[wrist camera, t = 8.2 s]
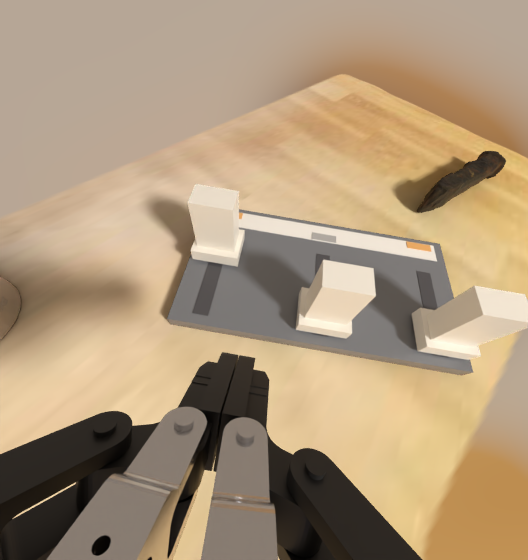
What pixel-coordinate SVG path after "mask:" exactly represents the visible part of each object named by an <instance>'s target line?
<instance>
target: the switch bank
mask: <svg viewBox="0 0 528 560" xmlns="http://www.w3.org/2000/svg"><path fill="white" fill-rule="evenodd" d="M239 229H240V230H245V236H244V243H243V247H242V251H241V255H240V259H239V263H238V267H237V266H231V265H225V264H219V263H214V262H208V261H202V260H196V259H193V258H192V254H191V256H190V258H189V261H188V264H187V267H186V269H185V272H184V275H183V277H182V280H181V283H180V285H179V288H178V291H177V293H176V296H175V299H174V301H173V304H172V307H171V309H170V312H169V315H168V317H167V319H168V321H169V323H170V324H172V325H178V326H183V327H189V328H195V329H201V330H206V331H212V332H218V333H223V334H229V335H235V336H240V337H246V338H252V339H258V340H263V341H269V342H275V343H280V344H286V345H292V346H297V347H303V348H309V349H315V350H320V351H326V352H332V353H337V354H343V355H349V356H354V357H360V358H366V359H371V360H377V361H383V362H389V363H394V364H400V365H406V366H411V367H417V368H423V369H428V370H434V371H440V372H446V373H451V374H457V375H465V374H469V373H473V370H472V366H471V362H470V360H465V359H460V358H454V357H448V356H442V355H437V354H431V353H425V352H420V351H417V345H416V339H415V332H414V326H413V320H412V313H413V312H415V311H416V310H417V309H419V308H425V309H431V310H436V309H437V308H439V307H441V306H442V305H444V304H446V303H447V302H449V301H450V300H452V299H454V297H453V293H452V289H451V285H450V282H449V278H448V274H447V270H446V266H445V262H444V259H443V255H442V251H441V247H440V244H437V243H431V242H425V241H420V240H414V239H408V238H402V237H396V236H391V235H385V234H379V233H373V232H367V231H361V230H356V229H350V228H344V227H338V226H332V225H327V224H321V223H315V222H309V221H303V220H298V219H292V218H286V217H280V216H274V215H268V214H263V213H257V212H251V211H245V210H239ZM323 260H329V261H335V262H340V263H346V264H352V265H358V266H363V267H369V268H374V280H375V292H376V296H375V297H374V298H373V299H372V300H371V301H370V302H369V303H368V304H367V305H366V306H365V307H364V308H363V309H362V310H361V311H360V312H359V313H358V314H357V315H356V316H355V317H354V318H353V319H352V334H351V335H350V336H349V337H348V338H346V339H345V338H340V337H334V336H328V335H323V334H317V333H311V332H305V331H300V330H296V320H297V309H298V298H299V293H300V290H301V288H302V287H304V288H310V286H311V284H312V282H313V280H314V278H315V276H316V274H317V272H318V269H319V267H320V265H321V263H322V261H323Z"/></svg>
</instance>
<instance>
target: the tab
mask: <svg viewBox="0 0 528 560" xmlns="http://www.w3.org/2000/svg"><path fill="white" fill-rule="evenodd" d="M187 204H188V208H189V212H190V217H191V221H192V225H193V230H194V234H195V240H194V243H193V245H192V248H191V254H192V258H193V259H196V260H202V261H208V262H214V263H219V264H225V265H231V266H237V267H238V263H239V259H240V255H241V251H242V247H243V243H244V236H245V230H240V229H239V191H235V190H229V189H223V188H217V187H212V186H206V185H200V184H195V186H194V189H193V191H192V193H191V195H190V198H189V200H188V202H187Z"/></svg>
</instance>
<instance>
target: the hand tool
mask: <svg viewBox="0 0 528 560" xmlns="http://www.w3.org/2000/svg"><path fill="white" fill-rule="evenodd" d="M505 162H506V160H505V158H503V157H502V155H500V154H499V152H495V151H485V152H483V153H482V154H480V155H479V157H478V159H477V160H475V161H472V162H468V163H466V164H465V165H464V167H463V168H462V169H460V170H459V171H457V172H456V173H454V174H453V173H450V174H448V175H446V176H445V177H444V178H442V179H441V180H440V181H439V182H437V184H436V185H435V186H434V187H433V188H432V189H431V191H430V192H429V193H428V194H427V195H426V196H425V199H424V201H423V202H422V204H421V205H420V207H419V208H418V210H417V212H421V213H422V212H426V211H431V210H434V209H435V208H438V207H441V206H443V205H444V204H445V203H446V202H447V201H449V200H450V199H452V198H453V197H455V196H457V195H459V194H460V193H462V192H464V191H466V190H467V189H468V188H470V187H472V186H474V185H476V184H478V183H479V182H480V181H482V180H483V179H485V178H487V179H488V178H491V177H494V176H496V174H497V173H499V172H500V171H501V170H502V168H503V167H504V165H505Z"/></svg>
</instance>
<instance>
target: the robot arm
mask: <svg viewBox="0 0 528 560" xmlns="http://www.w3.org/2000/svg"><path fill="white" fill-rule="evenodd" d="M20 306H21V298H20V294H19V292H18V290H17V289H16V287H15V286H14V285H12V284H11V283H10V282H8V281H7V280H5V279H4V278H2V277H1V276H0V339H2V338H3V337H4V336H5V335H6V333H7V332H8V331H9V330H10V328H11V327H12V326H13V324H14V322H15V321H16V319H17V317H18V314H19V311H20ZM254 362H255V358H252V357H246V356H241V355H239V358H238V355H235V354H229V353H224V352H222V354H221V356H220V358H219V361H218V363H214V362H206V363H205V364H204V365H202V366H201V367H200V368H199V369H198V371H197V373H196V375H195V377H194V379H193V380H192V383H191V384H190V386H189V388H188V390H187V392H186V393H185V395H184V397H183V399H182V401H181V403H180V404H179V406H178V408H176V409H174V410H172V411H170V412H168V413H167V414H166V415H165V416H164V417H163V419H162V420H161V422H159V423H155V424H149V425H137V426H132V420H131V418H130V417H129V416H128V415H127V414H125V413H123V412H119V411H109V412H104V413H100V414H98V415H95V416H93V417H90V418H88V419H85V420H83V421H80V422H78V423H75V424H73V425H71V426H68V427H66V428H63V429H61V430H58V431H56V432H54V433H51V434H49V435H46V436H44V437H41V438H39V439H36V440H34V441H32V442H29V443H27V444H24V445H22V446H19V447H17V448H15V449H12V450H10V451H7V452H5V453H2V454H0V560H173V557H174V554H175V552H176V549H177V546H178V544H179V541H180V538H181V536H182V533H183V530H184V528H185V525H186V522H187V520H188V517H189V514H190V512H191V509H192V507H193V504H194V501H195V499H196V496H197V492H198V487H199V485H200V482H201V479H202V476H203V473H204V470H209V471H212V467H213V463H214V460H215V464H214V471H215V472H216V477H215V483H214V489H213V495H212V499H211V505H210V510H209V516H208V522H207V528H206V534H205V539H204V545H203V551H202V557H201V560H278V557H279V559H280V560H422V559H421V558H420V557H419V556H418V554H417V553H416V552H415V551H414V550H413V549H412V548H411V547H410V546H409V545H408V544H407V542H406V541H405V540H404V539H403V538H402V537H401V536H400V535H399V534H398V533H397V532H396V530H395V529H394V528H393V527H392V526H391V525H390V524H389V523H388V522H387V521H386V520H385V518H384V517H383V516H382V515H381V514H380V513H379V512H378V511H377V510H376V509H375V508H374V506H373V505H372V504H371V503H370V502H369V501H368V500H367V499H366V498H365V497H364V496H363V494H362V493H361V492H360V491H359V490H358V489H357V488H356V487H355V486H354V485H353V483H352V482H351V481H350V480H349V479H348V478H347V477H346V476H345V475H344V474H343V473H342V471H341V470H340V469H339V468H338V467H337V466H336V465H335V464H334V463H333V462H332V461H331V460H330V459H329V458H328V457H327V456H326V455H325V454H323V453H322V452H320V451H317V450H315V449H310V448H304V449H300V450H298V451H296V452H295V453H294V454H293V455H292V454H290V453H288V452H287V451H285V450H283V449H281V448H279V447H278V446H277V445H276V444H274V443H273V441H272V440H271V439H270V437H269V436H268V433H267V429H266V422H267V407H268V391H269V379H268V377H267V375H266V373H265V372H263V371H258V370H253V368H254ZM215 456H216V458H215ZM75 482H76V484H75V485H73V486H72V487H70V488H68V489H66V490H64V491H63V492H61V493H59V494H57V495H56V496H54V497H52V498H50V499H48V500H47V501H45V502H43V503H41V504H39V505H38V506H36V507H34V508H32V509H30V510H29V511H27V512H25V513H23V514H21V515H20V516H18V517H16V518H14V517H15V516H16V515H18V514H19V513H21V512H22V511H24V510H26V509H28V508H30V507H31V506H33V505H35V504H37V503H39V502H40V501H42V500H44V499H46V498H48V497H49V496H51V495H53V494H55V493H57V492H59V491H60V490H62V489H64V488H66V487H68V486H69V485H71V484H73V483H75ZM12 518H14V519H12Z"/></svg>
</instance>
